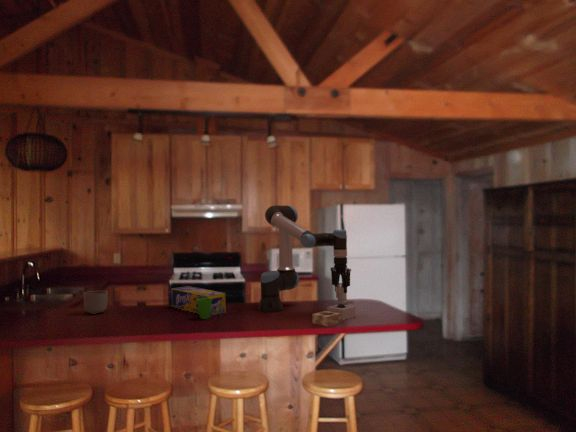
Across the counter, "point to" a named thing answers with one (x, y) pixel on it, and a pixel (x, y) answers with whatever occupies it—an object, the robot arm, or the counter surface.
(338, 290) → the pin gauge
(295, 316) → the counter surface
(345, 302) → the pipe connector
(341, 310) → the tan holed block
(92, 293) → the planter
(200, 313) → the cup
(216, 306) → the box
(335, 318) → the tan square block
